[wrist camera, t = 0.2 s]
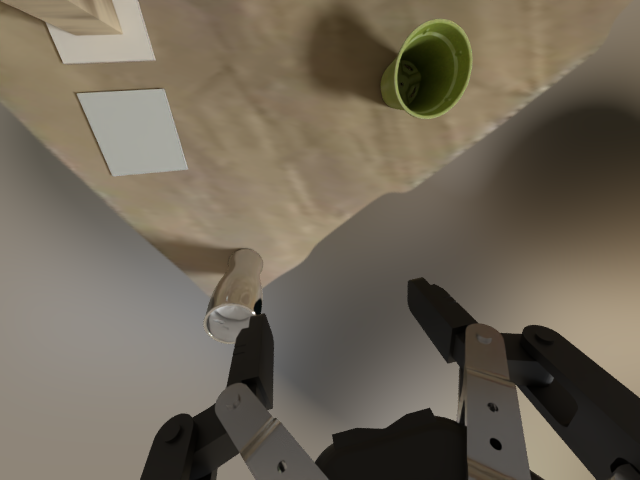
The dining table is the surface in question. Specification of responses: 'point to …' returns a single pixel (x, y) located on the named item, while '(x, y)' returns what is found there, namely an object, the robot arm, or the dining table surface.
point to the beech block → (74, 15)
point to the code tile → (108, 40)
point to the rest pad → (134, 131)
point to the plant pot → (429, 70)
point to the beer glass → (235, 297)
